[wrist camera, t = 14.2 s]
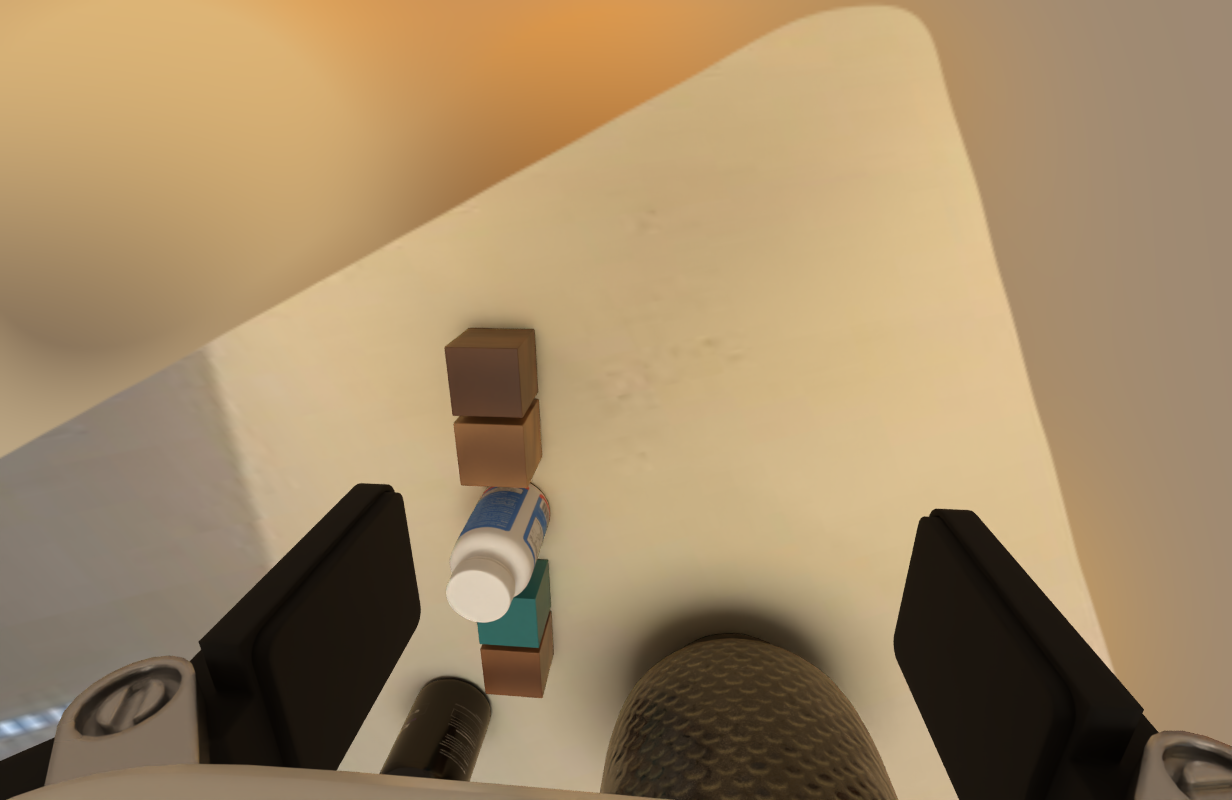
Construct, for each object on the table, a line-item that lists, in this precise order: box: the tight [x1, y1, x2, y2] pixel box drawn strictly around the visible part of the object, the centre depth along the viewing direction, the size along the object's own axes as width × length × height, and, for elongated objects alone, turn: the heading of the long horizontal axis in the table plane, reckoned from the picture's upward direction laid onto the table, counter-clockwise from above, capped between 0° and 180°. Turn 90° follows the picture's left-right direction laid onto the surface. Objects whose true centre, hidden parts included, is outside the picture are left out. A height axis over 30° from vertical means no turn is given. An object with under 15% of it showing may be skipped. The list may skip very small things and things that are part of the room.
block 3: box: [477, 560, 551, 648], centre depth 45 cm, size 4×4×4 cm
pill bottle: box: [446, 484, 550, 623], centre depth 40 cm, size 6×5×10 cm
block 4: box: [480, 611, 554, 698], centre depth 46 cm, size 4×4×4 cm
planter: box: [600, 633, 898, 800], centre depth 40 cm, size 20×20×19 cm
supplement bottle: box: [380, 679, 491, 782], centre depth 47 cm, size 7×7×12 cm
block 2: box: [454, 399, 542, 488], centre depth 40 cm, size 4×4×4 cm
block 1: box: [445, 328, 538, 418], centre depth 38 cm, size 4×4×4 cm
